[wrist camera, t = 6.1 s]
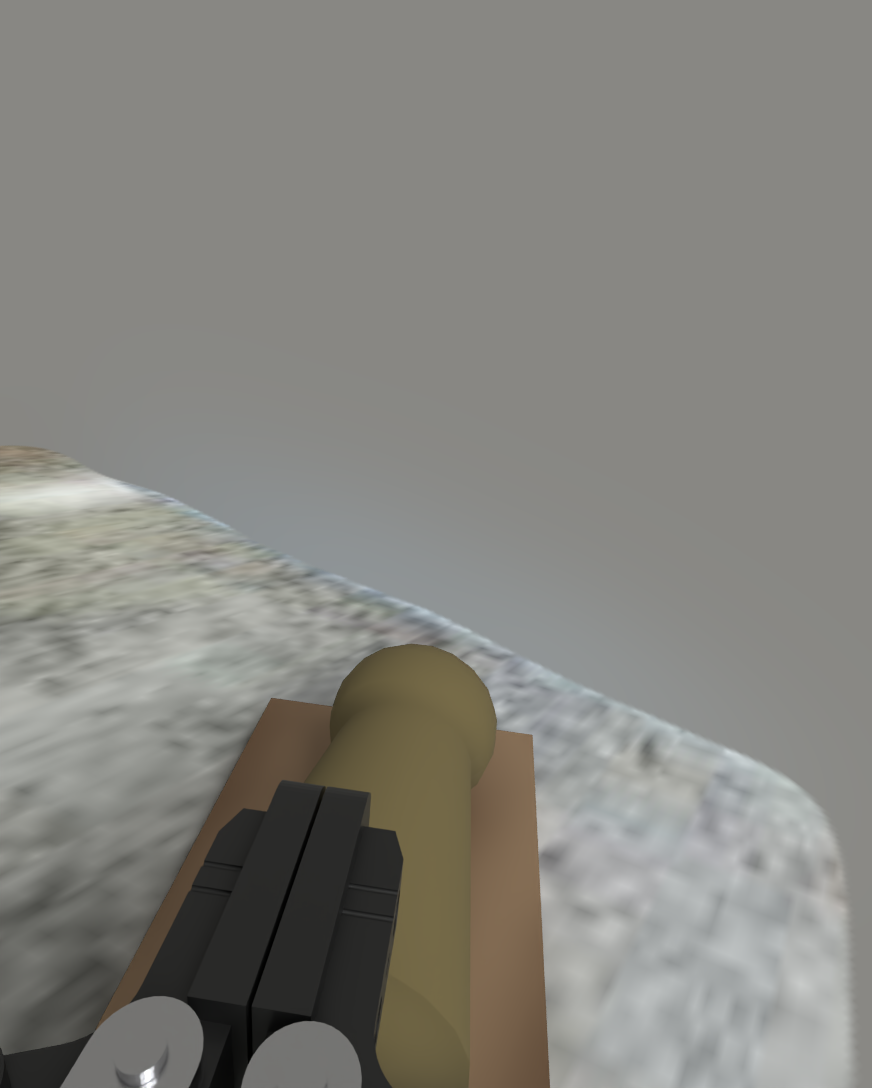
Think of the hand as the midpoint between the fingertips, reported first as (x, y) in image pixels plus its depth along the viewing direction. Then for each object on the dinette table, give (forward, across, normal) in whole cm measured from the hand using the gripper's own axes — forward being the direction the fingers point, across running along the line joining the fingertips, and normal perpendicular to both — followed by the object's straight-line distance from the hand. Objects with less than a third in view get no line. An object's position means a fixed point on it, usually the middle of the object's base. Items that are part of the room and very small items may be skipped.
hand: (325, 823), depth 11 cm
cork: (-1, 0, +5) cm, 5 cm away
